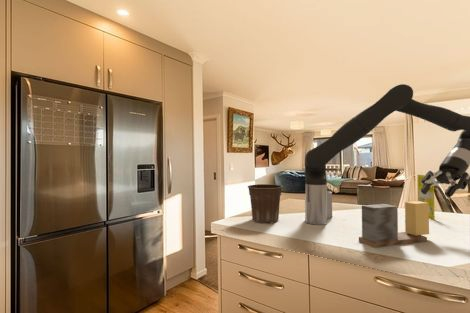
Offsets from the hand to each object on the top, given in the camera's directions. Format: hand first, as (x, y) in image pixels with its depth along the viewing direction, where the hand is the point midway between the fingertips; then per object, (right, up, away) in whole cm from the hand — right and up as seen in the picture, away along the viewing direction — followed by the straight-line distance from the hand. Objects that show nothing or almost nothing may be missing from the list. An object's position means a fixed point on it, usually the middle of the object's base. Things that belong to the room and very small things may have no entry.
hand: (434, 194), depth 94 cm
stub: (-8, -14, -2) cm, 16 cm away
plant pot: (-59, -16, +26) cm, 67 cm away
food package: (+21, -16, +33) cm, 42 cm away
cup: (-29, -16, +35) cm, 48 cm away
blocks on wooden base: (-19, -15, -5) cm, 25 cm away
